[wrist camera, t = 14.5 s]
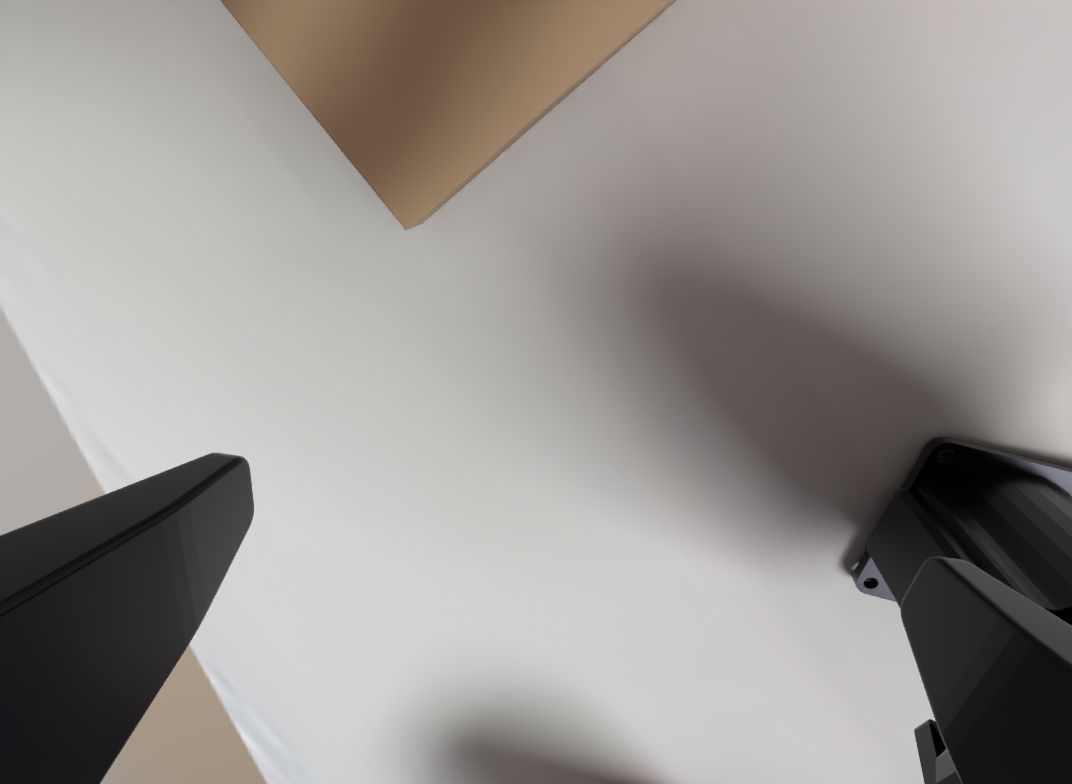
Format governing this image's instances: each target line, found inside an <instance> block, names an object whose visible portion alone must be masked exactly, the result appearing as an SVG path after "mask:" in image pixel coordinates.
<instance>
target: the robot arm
mask: <svg viewBox="0 0 1072 784" xmlns="http://www.w3.org/2000/svg"><path fill="white" fill-rule="evenodd" d="M945 449H949V451H948V453H947V454H946V455H945V456H942V457H938V454H939V453H940V452H941V451H943V450H945ZM253 514H254V501H253V492H252V483H251V474H250V467H249V463H248V461H247V460H246V459H245V458H244V457H242V456H236V455H229V454H222V453H211V454H208V455H205V456H203V457H200V458H198V459H195V460H193V461H190V462H187V463H185V464H182V465H180V466H177V467H175V468H172V469H169V470H167V471H164V472H162V473H159V474H157V475H154V476H152V477H149V478H146V479H144V480H141V481H139V482H136V483H134V484H131V485H129V486H126V487H123V488H121V489H118V490H116V491H113V492H111V493H108V494H105V495H103V496H100V497H98V498H95V499H93V500H90V501H88V502H85V503H82V504H80V505H77V506H75V507H72V508H70V509H67V510H65V511H62V512H59V513H57V514H55V515H52V516H49V517H47V518H44V519H42V520H39V521H36V522H34V523H31V524H29V525H26V526H24V527H21V528H19V529H16V530H13V531H11V532H8V533H6V534H3V535H1V536H0V784H100V783H101V781H102V780H103V778H104V776H105V775H106V773H107V772H108V770H109V769H110V767H111V766H112V764H113V762H114V761H115V759H116V758H117V756H118V755H119V753H120V751H121V750H122V748H123V747H124V745H125V744H126V742H127V740H128V739H129V737H130V736H131V734H132V732H133V731H134V729H135V728H136V726H137V725H138V723H139V722H140V720H141V719H142V717H143V715H144V714H145V712H146V711H147V709H148V707H149V706H150V704H151V703H152V701H153V700H154V698H155V697H156V695H157V693H158V692H159V690H160V688H161V687H162V686H163V684H164V682H165V681H166V679H167V678H168V676H169V675H170V673H171V671H172V670H173V668H174V667H175V665H176V663H177V662H178V661H179V659H180V657H181V655H182V654H183V653H184V651H185V650H186V648H187V646H188V645H189V643H190V641H191V640H192V638H193V636H194V635H195V633H196V632H197V630H198V628H199V626H200V624H201V622H202V621H203V619H204V617H205V615H206V613H207V611H208V609H209V607H210V605H211V603H212V601H213V599H214V597H215V595H216V593H217V591H218V589H219V587H220V585H221V583H222V581H223V579H224V577H225V575H226V573H227V571H228V569H229V567H230V565H231V563H232V561H233V559H234V557H235V555H236V553H237V551H238V549H239V547H240V545H241V543H242V541H243V539H244V537H245V535H246V533H247V531H248V529H249V527H250V525H251V522H252V519H253ZM866 549H867V550H866V551H865V553H864V555H863V557H862V558H861V560H860V562H859V564H858V565H857V567H856V569H855V571H854V573H853V576H852V577H853V581H854V583H855V585H856V587H857V588H858V589H859V591H861V592H863V593H865V594H869V595H872V596H876V597H880V598H884V599H888V600H891V601H895V602H897V603H898V605H899V607H900V609H901V618H902V622H903V625H904V628H905V631H906V634H907V637H908V640H909V643H910V646H911V649H912V652H913V655H914V658H915V661H916V664H917V667H918V670H919V673H920V676H921V679H922V682H923V684H924V687H925V690H926V693H927V696H928V699H929V702H930V705H931V708H932V711H933V714H934V717H935V721H933V720H931V719H929V720H928V721H926V722H925V723H923V724H922V725H920V726H919V727H917V728H916V729H914V732H915V737H916V742H917V747H918V752H919V757H920V762H921V767H922V772H923V777H924V782H925V784H1072V468H1069V467H1065V466H1061V465H1057V464H1053V463H1049V462H1045V461H1041V460H1037V459H1033V458H1029V457H1025V456H1021V455H1017V454H1013V453H1009V452H1005V451H1000V450H996V449H992V448H988V447H984V446H980V445H976V444H972V443H968V442H964V441H960V440H956V439H952V438H948V437H939V438H935V439H933V440H931V441H930V442H929V443H928V444H927V445H926V446H925V448H924V449H923V451H922V453H921V455H920V456H919V458H918V460H917V462H916V463H915V465H914V467H913V469H912V470H911V472H910V474H909V476H908V477H907V479H906V481H905V483H904V485H903V486H902V488H901V489H900V490H899V491H898V492H896V493H895V495H894V497H893V499H892V500H891V502H890V504H889V506H888V507H887V509H886V511H885V513H884V514H883V516H882V518H881V520H880V522H879V523H878V525H877V527H876V529H875V530H874V532H873V534H872V536H871V537H870V539H869V541H868V543H867V544H866ZM868 578H873V579H872V580H870V581H865V580H866V579H868Z"/></svg>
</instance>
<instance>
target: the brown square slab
mask: <svg viewBox="0 0 1072 784" xmlns="http://www.w3.org/2000/svg"><path fill="white" fill-rule="evenodd" d="M220 1H221V2H222V3H223V4H224V6H225V7H226V8H227V9H228V10H229V12H230V13H231V14H232V15H233V17H234V18H235V19H236V20H237V22H238V23H239V24H240V25H241V27H242V28H243V29H244V30H245V32H246V33H247V34H248V35H249V36H250V38H251V39H252V40H253V41H254V43H255V44H256V45H257V46H258V48H259V49H260V50H261V51H262V53H263V54H264V55H265V56H266V58H267V59H268V60H269V61H270V63H271V64H272V65H273V66H274V67H275V69H276V70H277V71H278V72H279V74H280V75H281V76H282V77H283V79H284V80H285V81H286V82H287V84H288V85H289V86H290V87H291V89H292V90H293V91H294V92H295V93H296V95H297V96H298V97H299V98H300V100H301V101H302V102H303V103H304V105H305V106H306V107H307V108H308V110H309V111H310V112H311V113H312V115H313V116H314V117H315V118H316V120H317V121H318V122H319V123H320V124H321V126H322V127H323V128H324V129H325V131H326V132H327V133H328V134H329V136H330V137H331V138H332V139H333V141H334V142H335V143H336V144H337V146H338V147H339V148H340V149H341V151H342V152H343V153H344V154H345V155H346V157H347V158H348V159H349V160H350V162H351V163H352V164H353V165H354V167H355V168H356V169H357V170H358V172H359V173H360V174H361V175H362V177H363V178H364V179H365V180H366V181H367V183H368V184H369V185H370V186H371V188H372V189H373V190H374V191H375V193H376V194H377V195H378V196H379V198H380V199H381V200H382V201H383V203H384V204H385V205H386V206H387V208H388V209H389V210H390V211H391V212H392V214H393V215H394V216H395V217H396V219H397V220H398V221H399V222H400V224H401V225H402V226H403V227H404V229H405V230H407V229H410V228H412V227H415V226H417V225H419V224H422V223H423V222H424V221H425V220H426V219H428V218H429V217H430V216H431V215H432V214H433V213H434V212H436V211H437V210H438V209H439V208H440V207H441V206H442V205H443V204H445V203H446V202H447V201H448V200H449V199H450V198H451V197H453V196H454V195H455V194H456V193H457V192H458V191H459V190H461V189H462V188H463V187H464V186H465V185H466V184H467V183H469V182H470V181H471V180H472V179H473V178H474V177H475V176H476V175H478V174H479V173H480V172H481V171H482V170H483V169H484V168H486V167H487V166H488V165H489V164H490V163H491V162H492V161H494V160H495V159H496V158H497V157H498V156H499V155H500V154H502V153H503V152H504V151H505V150H506V149H507V148H508V147H509V146H511V145H512V144H513V143H514V142H515V141H516V140H517V139H519V138H520V137H521V136H522V135H523V134H524V133H525V132H527V131H528V130H529V129H530V128H531V127H532V126H533V125H535V124H536V123H537V122H538V121H539V120H540V119H541V118H542V117H544V116H545V115H546V114H547V113H548V112H549V111H550V110H552V109H553V108H554V107H555V106H556V105H557V104H558V103H560V102H561V101H562V100H563V99H564V98H565V97H566V96H568V95H569V94H570V93H571V92H572V91H573V90H574V89H575V88H577V87H578V86H579V85H580V84H581V83H582V82H583V81H585V80H586V79H587V78H588V77H589V76H590V75H591V74H593V73H594V72H595V71H596V70H597V69H598V68H599V67H601V66H602V65H603V64H604V63H605V62H606V61H607V60H608V59H610V58H611V57H612V56H613V55H614V54H615V53H616V52H618V51H619V50H620V49H621V48H622V47H623V46H624V45H626V44H627V43H628V42H629V41H630V40H631V39H632V38H634V37H635V36H636V35H637V34H638V33H639V32H640V31H641V30H643V29H644V28H645V27H646V26H647V25H648V24H649V23H651V22H652V21H653V20H654V19H655V18H656V17H657V16H659V15H660V14H661V13H662V12H663V11H664V10H665V9H667V8H668V7H669V6H670V5H671V4H672V3H673V2H674V1H676V0H220Z"/></svg>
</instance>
